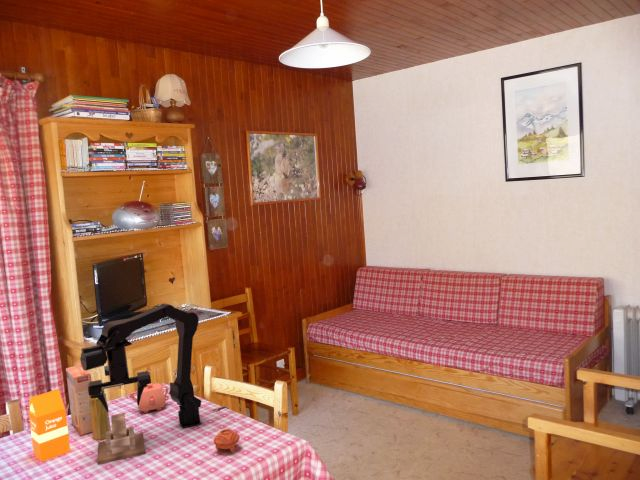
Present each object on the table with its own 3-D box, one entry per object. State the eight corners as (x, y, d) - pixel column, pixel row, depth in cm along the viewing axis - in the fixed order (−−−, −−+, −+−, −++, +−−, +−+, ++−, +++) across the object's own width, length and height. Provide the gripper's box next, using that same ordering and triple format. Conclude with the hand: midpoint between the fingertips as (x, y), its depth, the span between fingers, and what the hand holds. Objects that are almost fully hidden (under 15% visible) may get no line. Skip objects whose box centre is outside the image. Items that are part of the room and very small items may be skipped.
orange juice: (70, 451, 177) (63, 391, 175) (41, 462, 171) (33, 400, 169) (62, 444, 183) (54, 386, 181) (33, 454, 177) (25, 394, 175)
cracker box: (98, 431, 191) (91, 372, 189) (79, 436, 188) (72, 377, 186) (89, 418, 203) (82, 363, 200) (71, 423, 199) (64, 367, 197)
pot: (216, 458, 165) (213, 435, 166) (214, 452, 173) (211, 430, 174) (242, 452, 168) (239, 429, 168) (240, 446, 175) (236, 425, 176)
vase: (105, 440, 183) (100, 399, 182) (88, 439, 185) (83, 399, 183) (115, 432, 189) (110, 392, 188) (99, 431, 191) (94, 391, 189)
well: (143, 435, 185) (141, 421, 185) (145, 453, 172) (143, 438, 171) (98, 445, 180) (96, 430, 180) (97, 464, 167) (95, 449, 167)
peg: (127, 442, 178) (124, 412, 177) (128, 447, 175) (124, 417, 174) (114, 445, 177) (111, 415, 176) (114, 450, 173) (111, 420, 172)
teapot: (153, 417, 200) (150, 391, 199) (129, 413, 205) (126, 388, 204) (175, 404, 210) (172, 380, 209) (151, 401, 215) (149, 377, 214)
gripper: (146, 349, 186) (151, 393, 188) (86, 360, 179) (92, 405, 181) (148, 358, 175) (154, 405, 177) (85, 370, 169) (91, 418, 171)
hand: (123, 408), depth 177 cm, fingers open, 9 cm apart
